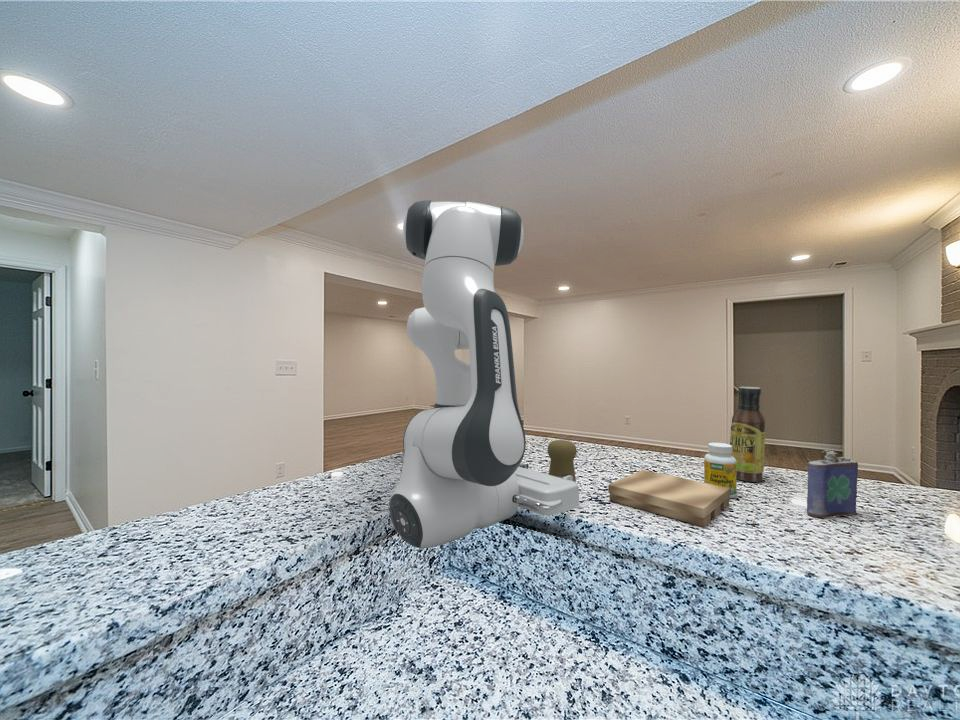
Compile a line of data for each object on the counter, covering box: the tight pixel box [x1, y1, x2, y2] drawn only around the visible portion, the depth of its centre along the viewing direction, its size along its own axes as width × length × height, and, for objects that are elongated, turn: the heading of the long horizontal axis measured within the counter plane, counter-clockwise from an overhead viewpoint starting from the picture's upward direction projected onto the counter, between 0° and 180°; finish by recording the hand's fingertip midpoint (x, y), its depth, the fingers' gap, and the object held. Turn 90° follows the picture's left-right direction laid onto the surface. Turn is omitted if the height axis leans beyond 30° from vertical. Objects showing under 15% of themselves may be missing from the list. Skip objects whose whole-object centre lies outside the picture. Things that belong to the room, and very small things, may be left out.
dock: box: [607, 469, 730, 528], centre depth 74 cm, size 16×14×3 cm
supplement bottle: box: [703, 442, 737, 499], centre depth 78 cm, size 5×5×10 cm
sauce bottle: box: [729, 386, 766, 483], centre depth 88 cm, size 6×6×20 cm
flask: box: [806, 449, 859, 519], centre depth 69 cm, size 9×3×11 cm, turn 102°
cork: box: [547, 439, 577, 483], centre depth 75 cm, size 6×6×11 cm
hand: (546, 473), depth 72 cm, fingers open, 8 cm apart
